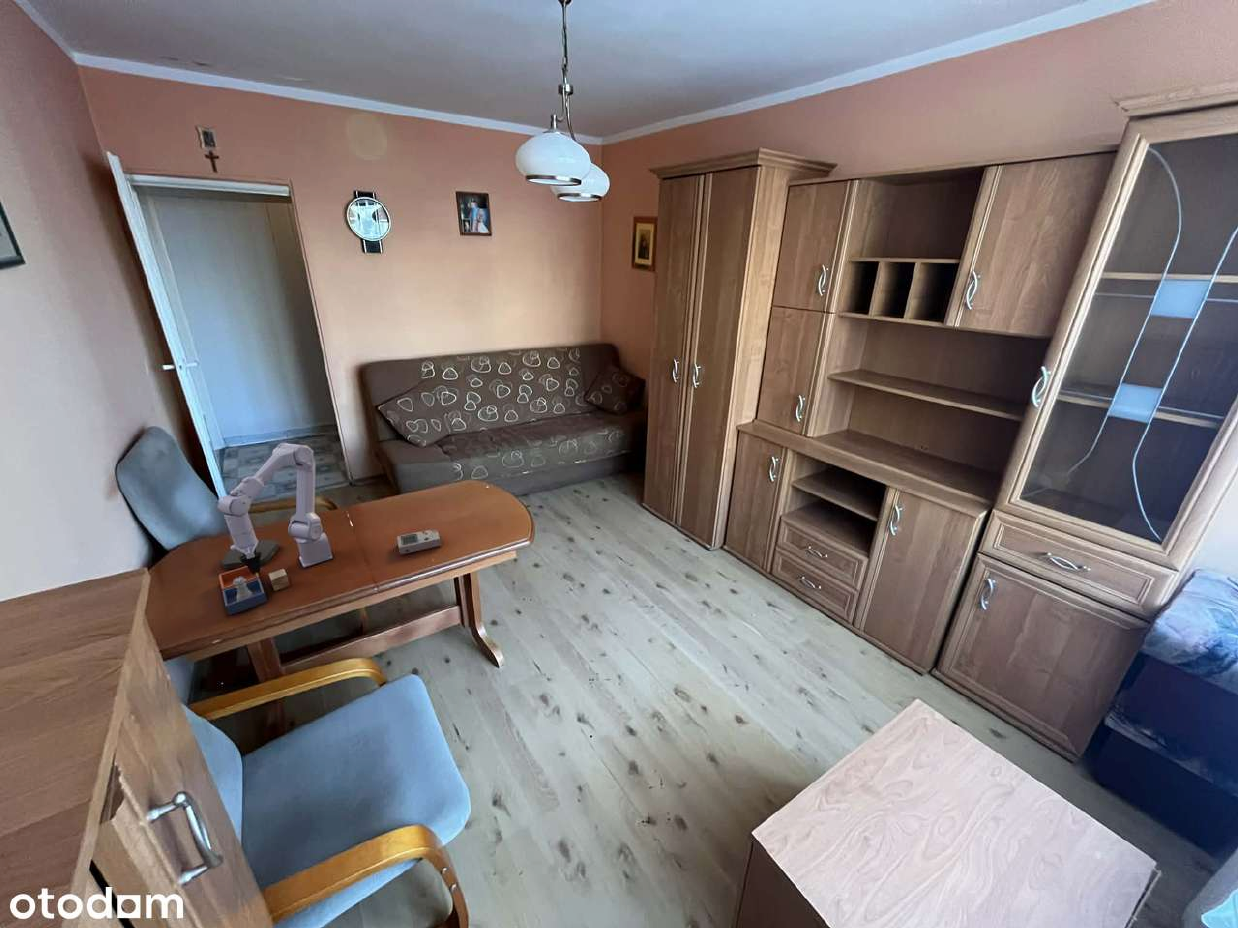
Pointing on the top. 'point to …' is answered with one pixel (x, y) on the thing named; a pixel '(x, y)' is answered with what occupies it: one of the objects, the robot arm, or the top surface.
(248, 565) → the robot arm
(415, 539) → the handheld gaming device
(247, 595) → the rook chess piece
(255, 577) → the terracotta bin
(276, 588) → the beech block
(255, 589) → the blue bin
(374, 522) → the top surface
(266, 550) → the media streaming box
